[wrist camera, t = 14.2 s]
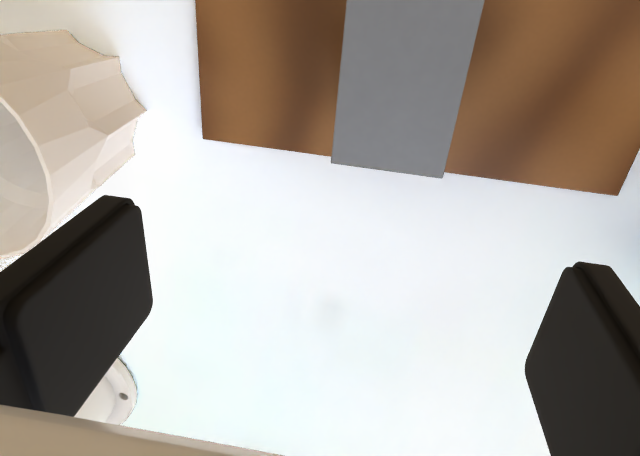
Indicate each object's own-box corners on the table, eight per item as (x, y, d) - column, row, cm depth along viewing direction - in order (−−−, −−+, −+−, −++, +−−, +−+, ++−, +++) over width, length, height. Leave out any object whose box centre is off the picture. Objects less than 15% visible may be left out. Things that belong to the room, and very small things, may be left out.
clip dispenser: (346, 123, 26) (330, 163, 21) (364, -41, 22) (350, -42, 17) (435, 135, 25) (442, 178, 20) (471, -31, 21) (491, -29, 16)
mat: (206, 136, 28) (202, 139, 28) (194, -103, 22) (189, -104, 22) (613, 191, 26) (617, 196, 25) (727, -59, 20) (736, -60, 19)
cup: (12, -18, 25) (-185, -9, 17) (177, 67, 26) (67, 116, 18) (0, 135, 31) (-155, 200, 22) (138, 202, 31) (39, 289, 23)
